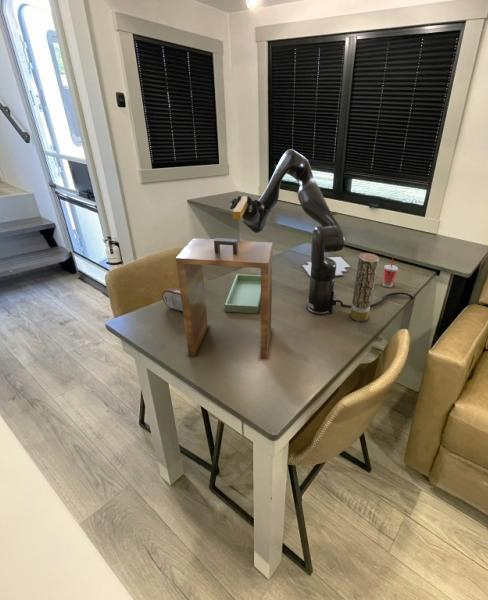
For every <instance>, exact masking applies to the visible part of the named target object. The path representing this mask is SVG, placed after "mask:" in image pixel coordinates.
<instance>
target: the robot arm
mask: <svg viewBox="0 0 488 600" xmlns="http://www.w3.org/2000/svg"><path fill="white" fill-rule="evenodd" d="M311 167H312V166H311V164H310V162H309V160H308V159H307V158H306V157H305V156H304V155H302V154H301V153H299V152H298V151H296V150H294V149H287V150H286V151H285V152H284V153H283V154H282V156H281V158H280V159H279V161H278V164H277V165H276V168H275V170H274V172H273V174H272V176H271V178H270V180H269V182H268V184H267V186H266V189H265V190H264V191H263V193H262V194H261V196H260V197H259V198H258V199H254V200H253V199H252V197H250V196H249V195H247V203H248V206H247V208H246V210H245V212H244V214H243V216H242V218H241V221H242V223H243V225H245V226H246V227H247V228H248V229H250V231H252V232H253V233H254V234H258V233H260V232H262V231H263V230H264V228H265V226H266V222H267V220H268V217H269V215H270V213H271V211H272V210H273V209H274V207H275V206H276V205H277V204H278V201H279V197H280V189H281V183H282V181H283V178H284V177H285V176H286V174H287V175H288V176H291V178H293V179H294V180H296V181H297V183H298V185H299V188H298V191H297V198H298V199H297V200H298V201H299V205H300V207H301V209H302V210H303V212H304V213H305V215H307V216H308V217H309V218H310V219H312V220H314V222H317V223H318V224H319V225H320V226H316V227H314V228H313V230H312V233H311V249H310V262H311V276H310V275H309V279H310V280H309V290H308V302H307V310H308V311H309V312H310V313H312V314H315V315H327V314H332V312H333V306H334V307H336V306H337V303H339V305H340V306H342V307H344V308H351V307H352V305H347V304H344V303H343V301H341V300H340V299H337V296H336V294H335V280H336V275H335V273H336V262H335V261H334V260H332V259H330V258H329V257H327V256H325V254H326V253H336V252H340V251H342V250H343V249H344V248H345V245H346V238H345V233H344V231H343V229H342V227H341V225H340V224H339V222H338V221H337V219H336V218H335V215H334V214H333V213H332V211H331V209H330V207H329V206H328V204H327V201H326V199H325V196H324V195H323V192H322V191H321V189H320V187H319V185H318V183H317V181H316V179H315V176H314V174H313V171H312V168H311ZM241 198H242V196H241V195H238V196H237V197H236V198H233V199H232V200H231V201H229V209H230V210H234V209H235V207H236V206H237V204H238V203H239V201H240V200H241ZM397 295H402V296H403V295H404V296H407V297H409V298H411V299H414V296H413V295H412V294H410V293H408V292H403V291H402V292H401V291H399V292H390V293H386V294H385V295H384V296H383V298H382V299H381V300H379V301H378V302H375V303H371V304H370V308H372V307H376V306H378V305H380V304H382V303H384V302H385V301H386V299H387V297H389V296H397Z"/></svg>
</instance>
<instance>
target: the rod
mask: <svg viewBox="0 0 488 600" xmlns="http://www.w3.org/2000/svg"><path fill="white" fill-rule="evenodd" d="M247 196H248V195H247ZM247 196H246V195H244V196H243V195H242V196H241V197H242V198H241V200H240V201H239V203H238V204H237V206H236V207H235V208H233V209H232V219H233V220H242V216H243V214H244V212H245V210H246V208H247V206H248V203H247Z"/></svg>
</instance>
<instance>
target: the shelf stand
mask: <svg viewBox="0 0 488 600" xmlns="http://www.w3.org/2000/svg"><path fill="white" fill-rule="evenodd" d="M273 246H274V245H273V242H267V241H266V242H265V241H248V240H239V239H238V238H225V237H224V238H223V237H215V238H213V239H212V238H198V237H197V238H195V237H193V238H191V240H190V241H189V242H188V243H187V244H186V246H185V247H184V248H183V249H182V250H181V251H180V253H179V254H178V255H177V256H176V257H175V264H176V271H177V278H178V286H179V289H180V294H181V301H182V309H183V312H182V315H183V324H184V330H185V338H186V345H187V353H188V356H191V357H192V356H193V357H195V356H197V353H198V351H199V348H200V346H201V343H202V341H203V339H204V337H205V334H206V332H207V330H208V327H209V326H208V325H209V324H208V314H207V313H208V312H207V302H206V301H207V300H206V292H205V282H204V281H205V279H204V271H203V266H216V267H234V268H235V267H236V268H251V269H252V268H253V269H260V276H261V299H260V359H264V360H266V359H268V355H269V348H270V341H271V332H272V300H273V299H272V298H273V296H272V295H273V290H272V289H273Z"/></svg>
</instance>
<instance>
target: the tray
mask: <svg viewBox="0 0 488 600" xmlns="http://www.w3.org/2000/svg"><path fill="white" fill-rule="evenodd" d="M260 305H261V274H260V275H258V274H241V273H240V274H239V273H236V275H235V278H234V280H233V283H232V285H231V288H230V290H229V293H228V295H227V298H226V300H225V303H224V312H225V313H243V314H244V313H245V314H247V313H248V314H258V312H259V308H260Z"/></svg>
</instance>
